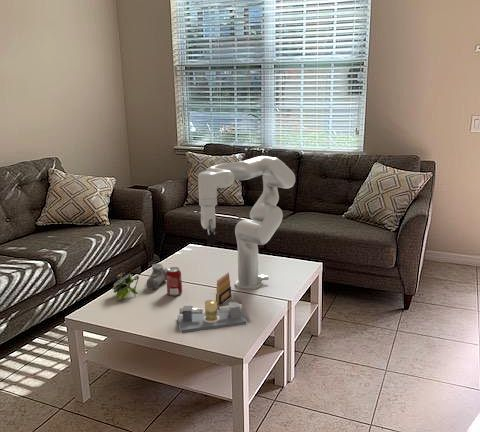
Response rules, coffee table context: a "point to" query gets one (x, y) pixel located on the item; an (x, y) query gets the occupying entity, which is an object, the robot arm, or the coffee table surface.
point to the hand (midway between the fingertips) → (209, 239)
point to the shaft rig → (225, 318)
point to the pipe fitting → (157, 276)
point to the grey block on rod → (189, 312)
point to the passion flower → (124, 285)
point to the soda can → (174, 281)
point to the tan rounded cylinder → (211, 310)
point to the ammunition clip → (223, 289)
